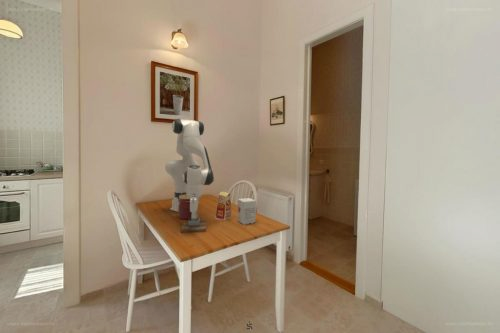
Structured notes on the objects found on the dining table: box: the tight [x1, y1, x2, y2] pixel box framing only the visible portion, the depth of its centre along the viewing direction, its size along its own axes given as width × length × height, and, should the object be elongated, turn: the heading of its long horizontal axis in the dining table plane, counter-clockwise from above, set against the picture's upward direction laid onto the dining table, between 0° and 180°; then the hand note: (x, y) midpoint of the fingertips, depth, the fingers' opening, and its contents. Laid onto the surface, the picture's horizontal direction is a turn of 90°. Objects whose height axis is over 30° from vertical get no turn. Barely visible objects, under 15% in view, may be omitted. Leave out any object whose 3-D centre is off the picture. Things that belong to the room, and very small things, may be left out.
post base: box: [180, 212, 207, 234], centre depth 131 cm, size 14×14×8 cm
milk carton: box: [214, 189, 232, 221], centre depth 151 cm, size 9×9×20 cm
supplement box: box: [237, 197, 257, 226], centre depth 144 cm, size 9×9×15 cm
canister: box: [177, 193, 198, 220], centre depth 152 cm, size 13×13×18 cm
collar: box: [187, 216, 201, 227], centre depth 131 cm, size 6×6×4 cm
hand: (194, 215), depth 131 cm, fingers open, 8 cm apart
